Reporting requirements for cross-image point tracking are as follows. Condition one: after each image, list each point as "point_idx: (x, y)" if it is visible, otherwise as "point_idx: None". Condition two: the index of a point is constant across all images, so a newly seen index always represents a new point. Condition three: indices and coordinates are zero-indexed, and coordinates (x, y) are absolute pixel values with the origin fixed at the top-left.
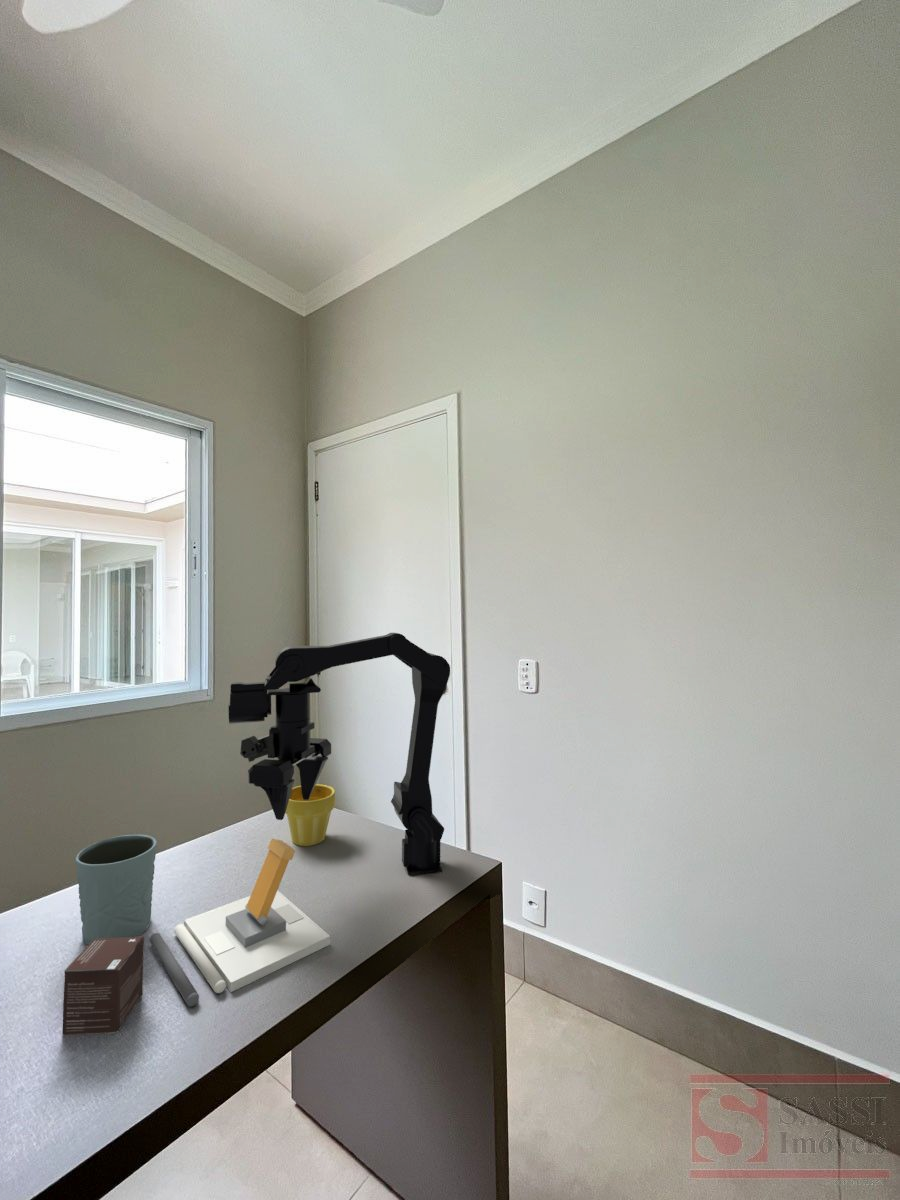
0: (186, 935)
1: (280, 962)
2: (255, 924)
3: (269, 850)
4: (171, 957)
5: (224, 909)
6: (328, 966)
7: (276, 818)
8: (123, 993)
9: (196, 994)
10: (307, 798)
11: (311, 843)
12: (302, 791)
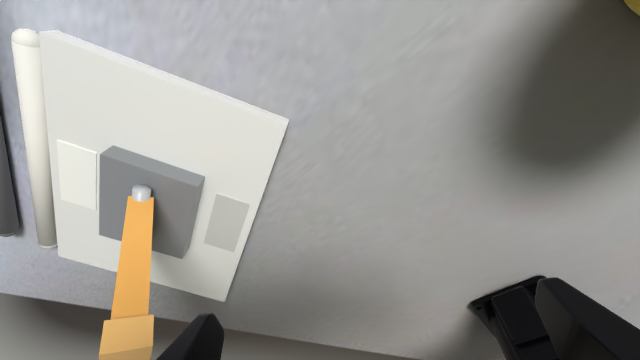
0: (23, 102)
1: None
2: None
3: (111, 319)
4: None
5: (141, 91)
6: (194, 307)
7: (195, 320)
8: None
9: (6, 236)
10: (538, 308)
11: (628, 3)
12: (576, 329)
